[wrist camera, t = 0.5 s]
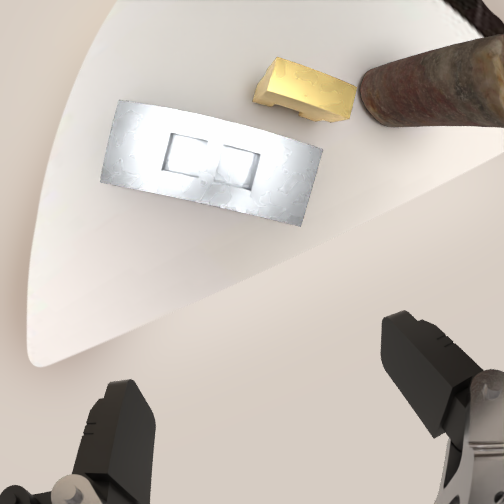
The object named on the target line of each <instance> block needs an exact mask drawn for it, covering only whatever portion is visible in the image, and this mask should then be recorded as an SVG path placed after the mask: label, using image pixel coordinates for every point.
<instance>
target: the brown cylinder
mask: <svg viewBox="0 0 504 504" xmlns="http://www.w3.org/2000/svg"><path fill="white" fill-rule="evenodd" d="M360 92H361V98H362V101H363V102H364V105H365V107H366V108H367V110H368V111H369V112H370V113H371V114H372V115H373V117H374V118H375V119H376V120H377V121H379V122H380V123H381V124H383V125H385V126H387V127H419V126H479V127H501V128H504V35H494V36H490V37H486V38H479V39H475V40H472V41H467V42H463V43H458V44H454V45H450V46H446V47H443V48H439V49H435V50H431V51H428V52H425V53H421V54H418V55H414V56H411V57H408V58H404V59H401V60H397V61H394V62H390V63H388V64H385V65H382V66H379V67H376V68H374V69H371V70H369V71H368V72H367V73H366V74H365V76H364V78H363V81H362V84H361V88H360Z"/></svg>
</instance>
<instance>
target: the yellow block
mask: <svg viewBox="0 0 504 504" xmlns="http://www.w3.org/2000/svg"><path fill="white" fill-rule="evenodd" d="M356 90H357V87H356V86H353V85H351V84H349V83H347V82H344V81H342V80H339V79H337V78H335V77H332V76H330V75H327V74H324V73H322V72H319V71H317V70H314V69H311V68H309V67H306V66H303V65H300V64H297V63H294V62H291V61H288V60H285V59H282V58H279V57H277V58H276V59H275V60H274V61H273V62H272V64H271V65H270V66H269V67H268V69H267V71H266V74H265V75H264V77H263V78H262V79H261V80H260V82H259V83H258V84H257V87H256V91H255V94H254V98H253V101H252V102H255V103H258V104H262V105H265V106H269V107H272V106H274V105H275V104H277V105H281V106H284V107H287V108H290V109H293V110H296V111H299V115H298V116H301V117H304V118H307V119H309V120H312V121H315V122H316V121H320V120H325V121H328V122H330V123H331V122H336V121H342V120H347V119H349V118H350V114H351V110H352V106H353V102H354V98H355V94H356Z"/></svg>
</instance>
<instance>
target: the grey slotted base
mask: <svg viewBox="0 0 504 504" xmlns="http://www.w3.org/2000/svg"><path fill="white" fill-rule="evenodd" d="M322 151H323V149H321V148H318V147H315V146H312V145H309V144H306V143H303V142H300V141H297V140H294V139H290V138H287V137H284V136H281V135H277V134H274V133H270V132H267V131H263V130H260V129H256V128H253V127H249V126H245V125H241V124H238V123H234V122H230V121H226V120H221V119H217V118H213V117H209V116H204V115H200V114H195V113H191V112H186V111H181V110H176V109H171V108H166V107H160V106H155V105H149V104H143V103H137V102H130V101H123V100H119V101H118V105H117V109H116V112H115V116H114V120H113V124H112V128H111V132H110V136H109V141H108V145H107V150H106V154H105V159H104V164H103V169H102V174H101V180H100V182H101V183H106V184H112V185H117V186H122V187H127V188H132V189H137V190H142V191H147V192H151V193H156V194H161V195H166V196H171V197H175V198H180V199H184V200H189V201H194V202H198V203H203V204H207V205H212V206H216V207H220V208H225V209H229V210H234V211H238V212H242V213H246V214H251V215H255V216H259V217H263V218H267V219H272V220H276V221H280V222H284V223H288V224H292V225H296V226H300V227H301V224H302V221H303V218H304V214H305V211H306V207H307V204H308V201H309V197H310V194H311V190H312V187H313V183H314V180H315V176H316V173H317V169H318V166H319V162H320V158H321V155H322Z"/></svg>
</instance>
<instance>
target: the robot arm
mask: <svg viewBox="0 0 504 504" xmlns="http://www.w3.org/2000/svg"><path fill="white" fill-rule="evenodd" d="M381 335H382V336H381V360H382V364H383V367H384V369H385V371H386V372H387V373H388V375H389V376H390V377H391V379H392V380H393V382H394V383H395V384H396V386H397V387H398V389H399V390H400V391H401V392H402V394H403V396H404V397H405V398H406V400H407V401H408V403H409V404H410V405H411V407H412V408H413V409H414V411H415V412H416V414H417V415H418V417H419V418H420V419H421V421H422V422H423V424H424V425H425V427H426V428H427V429H428V431H429V432H430V434H431V435H432V437H433V438H436V437H438V436H440V435H441V434H443V433H445V432H446V434H447V435H448V436H449V439H448V443H447V449H446V456H445V462H444V468H443V473H442V479H441V484H440V489H439V493H438V495H437V498H436V501H435V503H434V504H504V372H502V371H499V370H494V369H490V370H485V371H484V370H483V369H481V368H480V367H479V366H478V365H477V364H476V363H475V362H474V361H473V360H472V359H471V358H470V357H469V356H468V355H467V354H466V353H465V352H464V351H463V350H462V349H461V348H459V346H457V345H456V344H454V343H453V341H452V340H451V339H450V338H449V337H448V336H446V335H445V333H443V332H442V331H441V330H440V329H439V328H438V327H437V326H436V325H434V324H431V323H429V322H427V321H424V320H420V321H417V320H416V319H415V318H414V317H413V316H412V315H411V314H410V313H409V312H407V311H405V310H404V311H400V312H398V313H395V314H392V315H390V316H387V317H384V318H383V320H382V334H381ZM86 423H87V425H86V426H85V429H84V432H83V433H84V436H82V439H81V443H80V446H79V450H78V453H77V457H76V461H75V464H74V468H73V472H72V475H67V476H65V477H63V478H61V479H60V480H59V481H57V482H56V484H55V485H54V487H53V489H52V491H50V492H45V493H40V494H34V495H31V494H30V493H29V492H28V491H27V490H25V489H24V488H23V487H21V486H18V485H12V486H9V487H7V488H6V489H5V490H4V491H3V492H2V493H1V495H0V504H150V491H151V490H150V489H151V475H152V462H153V450H154V439H155V430H156V424H155V418H154V415H153V412H152V410H151V408H150V407H149V405H148V403H147V402H146V400H145V398H144V397H143V395H142V393H141V392H140V390H139V388H138V386H137V385H136V383H135V382H134V381H133V380H131V379H129V380H122V381H114V382H110V383H109V384H108V386H107V389H106V392H105V396H104V398H102V399H99V400H98V401H97V402H96V404H95V405H94V406H93V407H92V409H91V410H90V413H89V416H88V419H87V422H86Z"/></svg>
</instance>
